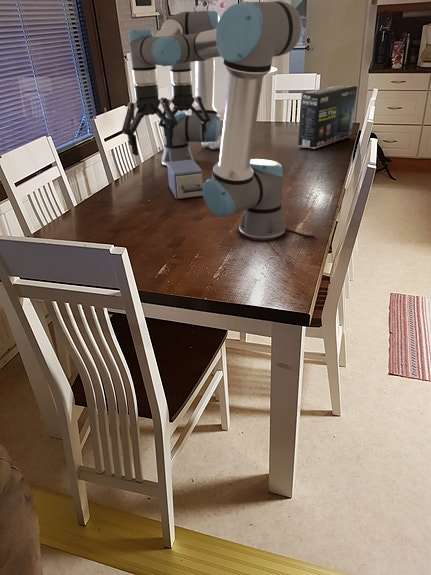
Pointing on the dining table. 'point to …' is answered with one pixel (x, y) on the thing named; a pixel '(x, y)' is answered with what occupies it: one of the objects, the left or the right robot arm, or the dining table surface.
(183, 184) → the drawer
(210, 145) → the fossil
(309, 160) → the dining table surface
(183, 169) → the cabinet
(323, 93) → the router box
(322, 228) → the dining table surface
